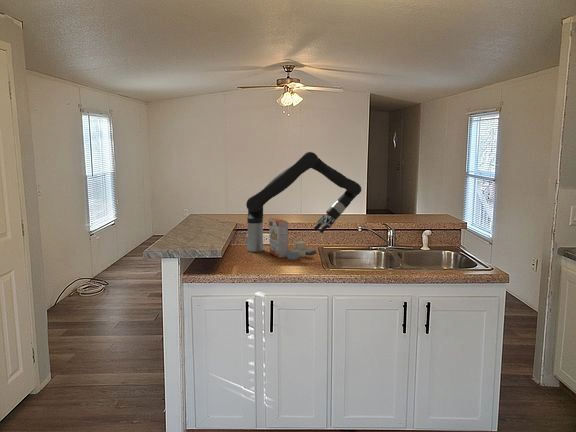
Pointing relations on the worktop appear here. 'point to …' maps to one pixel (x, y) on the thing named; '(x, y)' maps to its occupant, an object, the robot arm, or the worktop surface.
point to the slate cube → (293, 254)
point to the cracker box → (278, 237)
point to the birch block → (300, 248)
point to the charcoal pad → (310, 251)
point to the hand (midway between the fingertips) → (317, 230)
